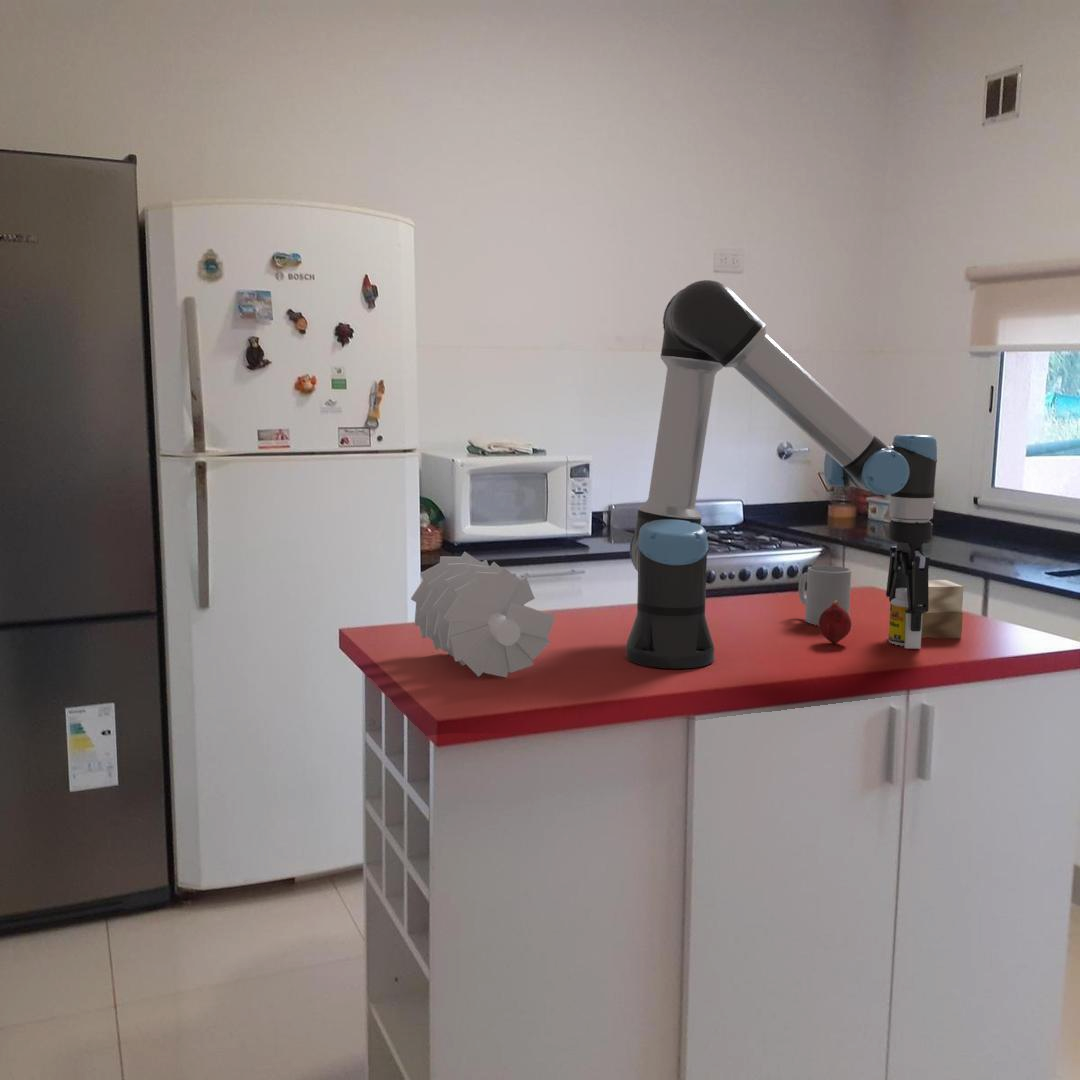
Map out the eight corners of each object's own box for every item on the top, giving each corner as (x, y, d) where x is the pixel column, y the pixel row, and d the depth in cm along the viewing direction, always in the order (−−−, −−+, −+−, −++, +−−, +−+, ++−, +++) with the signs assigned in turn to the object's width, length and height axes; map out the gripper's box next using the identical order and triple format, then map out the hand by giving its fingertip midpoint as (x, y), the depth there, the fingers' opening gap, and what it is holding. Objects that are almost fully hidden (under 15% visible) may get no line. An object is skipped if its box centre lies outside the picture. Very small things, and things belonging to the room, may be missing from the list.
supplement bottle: (883, 640, 205) (886, 586, 203) (913, 640, 205) (916, 586, 203) (894, 647, 199) (897, 592, 198) (924, 647, 199) (927, 592, 198)
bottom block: (921, 638, 207) (923, 612, 207) (908, 629, 215) (909, 604, 214) (961, 639, 207) (962, 613, 207) (946, 630, 215) (948, 605, 214)
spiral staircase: (480, 709, 172) (430, 664, 195) (573, 653, 178) (513, 616, 200) (434, 611, 166) (387, 576, 189) (532, 556, 171) (475, 529, 194)
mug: (858, 624, 219) (860, 570, 217) (827, 628, 214) (830, 573, 213) (813, 613, 229) (815, 561, 227) (783, 618, 224) (785, 565, 223)
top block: (926, 612, 207) (928, 586, 206) (910, 605, 213) (911, 580, 213) (961, 612, 207) (963, 586, 207) (944, 605, 214) (945, 579, 214)
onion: (851, 648, 198) (853, 604, 197) (818, 646, 199) (820, 603, 198) (849, 641, 204) (851, 598, 203) (817, 639, 205) (819, 597, 204)
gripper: (953, 527, 189) (946, 656, 192) (911, 513, 209) (904, 630, 212) (910, 526, 189) (903, 656, 192) (872, 513, 209) (866, 630, 212)
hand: (904, 642), depth 202 cm, fingers open, 8 cm apart
